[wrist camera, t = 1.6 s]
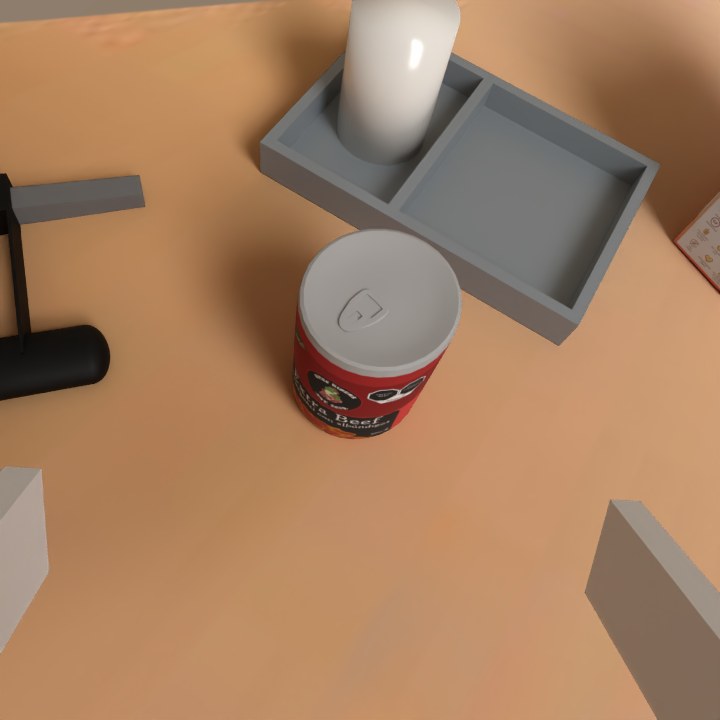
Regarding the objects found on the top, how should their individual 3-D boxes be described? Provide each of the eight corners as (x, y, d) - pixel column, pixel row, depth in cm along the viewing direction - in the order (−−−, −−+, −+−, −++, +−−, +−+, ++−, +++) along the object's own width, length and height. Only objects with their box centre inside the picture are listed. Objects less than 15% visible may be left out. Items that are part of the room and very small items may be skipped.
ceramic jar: (319, 136, 47) (331, 12, 38) (365, 83, 49) (387, -44, 40) (397, 180, 46) (428, 65, 37) (439, 124, 49) (478, 4, 39)
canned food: (266, 401, 39) (265, 316, 29) (335, 305, 42) (356, 199, 32) (375, 468, 38) (412, 405, 28) (437, 365, 41) (490, 275, 31)
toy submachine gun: (124, 99, 44) (-148, 117, 40) (175, 359, 37) (-150, 416, 33) (131, 134, 47) (-121, 155, 43) (179, 381, 40) (-118, 436, 36)
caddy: (260, 172, 46) (259, 141, 43) (374, 47, 52) (379, 14, 49) (559, 345, 43) (578, 325, 40) (639, 191, 49) (660, 164, 47)
